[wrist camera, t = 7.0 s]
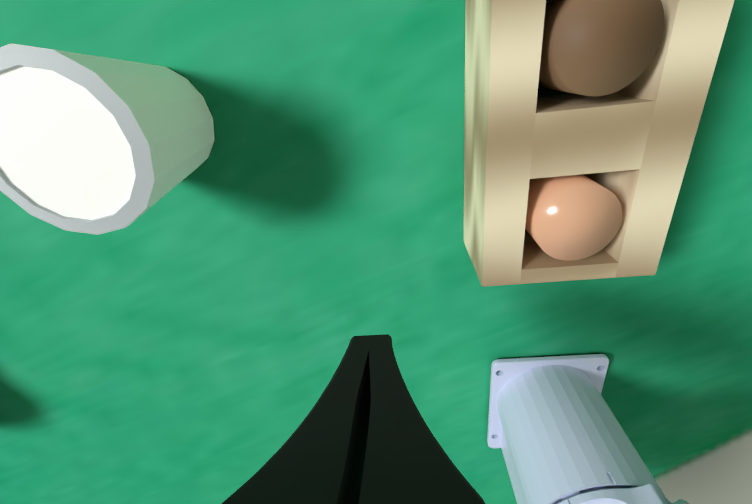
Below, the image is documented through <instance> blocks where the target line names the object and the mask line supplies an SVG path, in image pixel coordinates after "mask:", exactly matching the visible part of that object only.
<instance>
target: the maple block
mask: <svg viewBox="0 0 752 504" xmlns="http://www.w3.org/2000/svg"><path fill="white" fill-rule="evenodd" d="M661 2H662V5H663V9H664V18H665V21H664V31H663V36H662V40H661V43H660V45H659V48H658V50H657V52H656V54H655V56H654V58H653V59H652V61H651V63H650V64H649V65H648V67H647V68H646V69H645V71H644V72H643V73H642V74H641V75H640V76H639V77H638V78H637V79H635V80H634V81H633V82H632V83H630V84H629V85H628V86H626V87H624V88H623V89H621V90H619V91H617V92H614V93H612V94H608V95H604V96H585V95H579V94H574V93H568V94H558V95H549V96H539V97H537V94H538V83H539V72H540V61H541V51H542V40H543V29H544V18H545V7H546V0H466V8H465V141H464V243H465V246H466V248H467V251H468V253H469V256H470V258H471V260H472V263H473V265H474V268H475V270H476V273H477V275H478V278H479V280H480V282H481V285H482V287H483V286H497V285H512V284H527V283H542V282H556V281H571V280H586V279H600V278H615V277H630V276H644V275H655V274H656V271H657V267H658V264H659V260H660V257H661V253H662V250H663V246H664V243H665V239H666V236H667V232H668V229H669V225H670V222H671V219H672V215H673V212H674V208H675V205H676V201H677V198H678V194H679V191H680V187H681V184H682V180H683V177H684V173H685V170H686V167H687V163H688V160H689V156H690V153H691V149H692V146H693V142H694V139H695V135H696V132H697V128H698V125H699V121H700V118H701V115H702V111H703V108H704V104H705V101H706V97H707V94H708V90H709V87H710V83H711V80H712V76H713V73H714V70H715V66H716V63H717V59H718V56H719V52H720V49H721V45H722V42H723V38H724V35H725V31H726V28H727V24H728V21H729V18H730V14H731V11H732V7H733V4H734V0H661ZM580 174H583V175H585V176H586V177H588V178H590V179H591V180H593V181H595V182H596V183H598V184H600V185H601V186H603V187H605V188H607V189H608V190H610V191H611V192H612V193H614V194H615V195H616V197H617V198H618V200H619V201H620V204H621V207H622V221H621V225H620V227H619V230H618V232H617V234H616V235H615V237H614V238H613V239H612V241H611V242H610V243H609V244H608V245H607V246H606V247H604V248H603V249H602V250H600V251H599V252H597V253H596V254H594V255H592V256H590V257H587V258H584V259H580V260H574V261H564V260H559V259H555V258H553V257H551V256H549V255H548V254H546V253H545V252H544V251H543V250H542V249H541V248H540V246H539V245H538V244H537V243H536V241H535V240H534V239H533V238H532V236H531V235H530V234H529V233H528V231H527V230H526V229H525V225H526V214H527V203H528V192H529V181H530V179H536V178H547V177H558V176H569V175H580Z"/></svg>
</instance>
